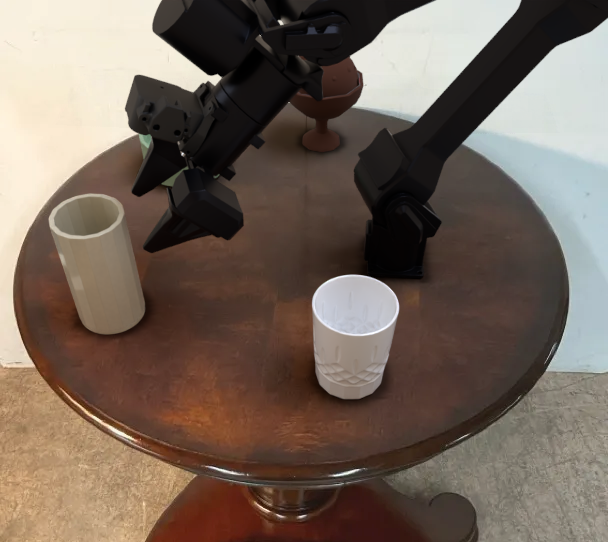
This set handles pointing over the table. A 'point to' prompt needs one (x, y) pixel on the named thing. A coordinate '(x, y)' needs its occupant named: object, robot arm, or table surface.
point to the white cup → (352, 334)
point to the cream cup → (98, 262)
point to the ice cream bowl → (329, 103)
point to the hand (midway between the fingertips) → (140, 221)
